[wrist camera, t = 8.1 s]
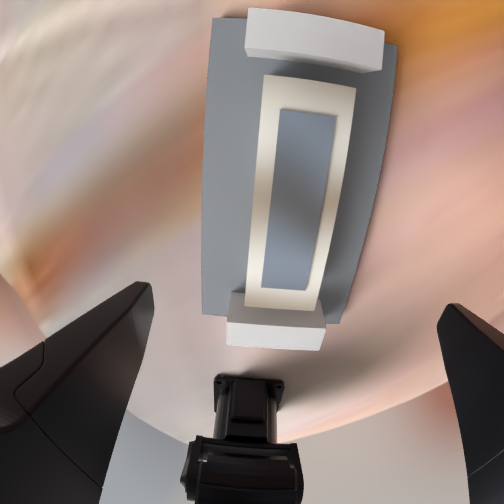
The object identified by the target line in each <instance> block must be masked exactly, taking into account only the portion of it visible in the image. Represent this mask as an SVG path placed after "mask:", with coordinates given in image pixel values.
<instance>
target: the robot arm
mask: <svg viewBox="0 0 504 504" xmlns="http://www.w3.org/2000/svg"><path fill="white" fill-rule="evenodd" d="M153 315H154V300H153V293H152V287H151V284H150V283H147V282H139V281H137V282H134V283H133V284H131V285H130V286H128V287H126V288H125V289H123V290H121V291H120V292H118V293H117V294H115V295H113V296H112V297H110V298H109V299H107V300H106V301H104V302H102V303H101V304H99V305H98V306H96V307H94V308H93V309H91V310H90V311H88V312H87V313H85V314H84V315H82V316H80V317H79V318H77V319H76V320H74V321H73V322H71V323H70V324H68V325H67V326H65V327H63V328H62V329H60V330H59V331H57V332H56V333H54V334H53V335H51V336H50V337H48V338H47V339H45V342H44V341H42V342H41V343H39V344H38V345H36V346H35V347H33V348H32V349H30V350H29V351H27V352H25V353H24V354H22V355H21V356H19V357H18V358H16V359H14V360H13V361H11V362H9V363H7V364H6V365H4V366H2V367H0V504H99V500H100V496H101V493H102V487H103V484H104V481H105V477H106V473H107V470H108V466H109V462H110V459H111V455H112V452H113V449H114V446H115V442H116V439H117V436H118V432H119V429H120V426H121V423H122V420H123V416H124V413H125V410H126V407H127V404H128V401H129V398H130V395H131V392H132V389H133V387H134V384H135V381H136V378H137V375H138V372H139V369H140V367H141V363H142V360H143V357H144V353H145V349H146V344H147V340H148V336H149V332H150V327H151V323H152V319H153ZM437 333H438V337H439V341H440V346H441V351H442V356H443V361H444V365H445V370H446V374H447V378H448V381H449V385H450V389H451V393H452V396H453V401H454V405H455V409H456V413H457V418H458V423H459V427H460V433H461V438H462V443H463V449H464V455H465V462H466V468H467V476H468V488H469V499H470V504H504V334H503V333H501V332H500V331H498V330H497V329H496V328H494V327H493V326H491V325H490V324H488V323H487V322H486V321H484V320H483V319H481V318H480V317H478V316H477V315H475V314H474V313H472V312H471V311H469V310H468V309H466V308H465V307H463V306H462V305H460V304H458V303H450V304H448V305H447V306H446V307H445V309H444V311H443V313H442V315H441V317H440V319H439V321H438V323H437ZM283 390H284V382H283V381H277V380H259V379H245V378H233V377H223V376H217V377H215V378H214V411H215V412H216V419H215V427H214V435H213V438H207V437H203V436H199V435H197V436H196V440H195V441H192V442H189V448H188V453H187V458H186V461H185V465H184V468H183V471H182V474H181V478H180V483H181V484H182V485H183V486H184V487H185V491H186V493H187V500H190V501H195V504H301V501H302V497H303V490H304V481H303V474H302V469H301V463H300V458H299V453H298V448H297V443H290V444H277V415H276V414H277V411H278V407H279V404H280V401H281V397H282V394H283ZM203 460H207V462H203Z"/></svg>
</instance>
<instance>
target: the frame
mask: <svg viewBox="0 0 504 504" xmlns="http://www.w3.org/2000/svg"><path fill="white" fill-rule="evenodd" d="M355 94H356V88H352V87H348V86H343V85H337V84H332V83H326V82H320V81H314V80H307V79H300V78H292V77H284V76H274V75H264V80H263V91H262V103H261V114H260V126H259V137H258V149H257V160H256V172H255V184H254V195H253V207H252V219H251V231H250V243H249V255H248V267H247V279H246V291H245V303H244V306H247V307H260V308H274V309H288V310H305V311H314V310H315V306H316V302H317V298H318V294H319V290H320V286H321V282H322V278H323V273H324V269H325V265H326V260H327V256H328V252H329V247H330V242H331V238H332V233H333V228H334V223H335V218H336V213H337V208H338V203H339V198H340V193H341V187H342V182H343V176H344V170H345V164H346V158H347V152H348V145H349V139H350V132H351V125H352V118H353V110H354V102H355Z"/></svg>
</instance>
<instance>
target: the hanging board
mask: <svg viewBox="0 0 504 504" xmlns="http://www.w3.org/2000/svg"><path fill="white" fill-rule="evenodd" d="M384 34H385V31H383V30H379V29H376V28H372V27H369V26H365V25H361V24H357V23H353V22H349V21H344V20H340V19H335V18H330V17H325V16H319V15H313V14H307V13H300V12H293V11H284V10H275V9H263V8H248V16H247V19H245V18H213V20H212V30H211V40H210V51H209V63H208V76H207V90H206V105H205V123H204V144H203V171H202V215H201V281H202V314H206V315H215V316H226V317H227V330H226V345H233V346H244V347H257V348H272V349H289V350H315V351H319V350H320V347H321V344H322V341H323V338H324V335H325V332H326V324H325V323H329V324H339V323H340V320H341V317H342V314H343V311H344V308H345V305H346V301H347V298H348V295H349V292H350V289H351V286H352V282H353V279H354V276H355V272H356V269H357V265H358V262H359V258H360V255H361V251H362V247H363V244H364V240H365V236H366V232H367V228H368V224H369V220H370V216H371V212H372V208H373V204H374V199H375V195H376V190H377V186H378V181H379V176H380V171H381V166H382V161H383V156H384V150H385V145H386V139H387V133H388V127H389V120H390V113H391V106H392V99H393V91H394V82H395V73H396V63H397V51H398V46H396V45H393V44H390V43H386V42H384ZM264 75H274V76H284V77H292V78H300V79H307V80H314V81H320V82H326V83H332V84H337V85H343V86H348V87H352V88H356V94H355V102H354V110H353V118H352V125H351V132H350V139H349V145H348V152H347V158H346V164H345V170H344V176H343V182H342V187H341V193H340V198H339V203H338V208H337V213H336V218H335V223H334V228H333V233H332V238H331V242H330V247H329V252H328V256H327V260H326V265H325V269H324V273H323V278H322V282H321V286H320V290H319V294H318V298H317V302H316V306H315V310H314V311H305V310H288V309H274V308H260V307H247V306H244V303H245V291H246V279H247V267H248V255H249V243H250V231H251V219H252V207H253V195H254V184H255V172H256V160H257V149H258V137H259V126H260V114H261V103H262V91H263V80H264Z"/></svg>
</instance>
